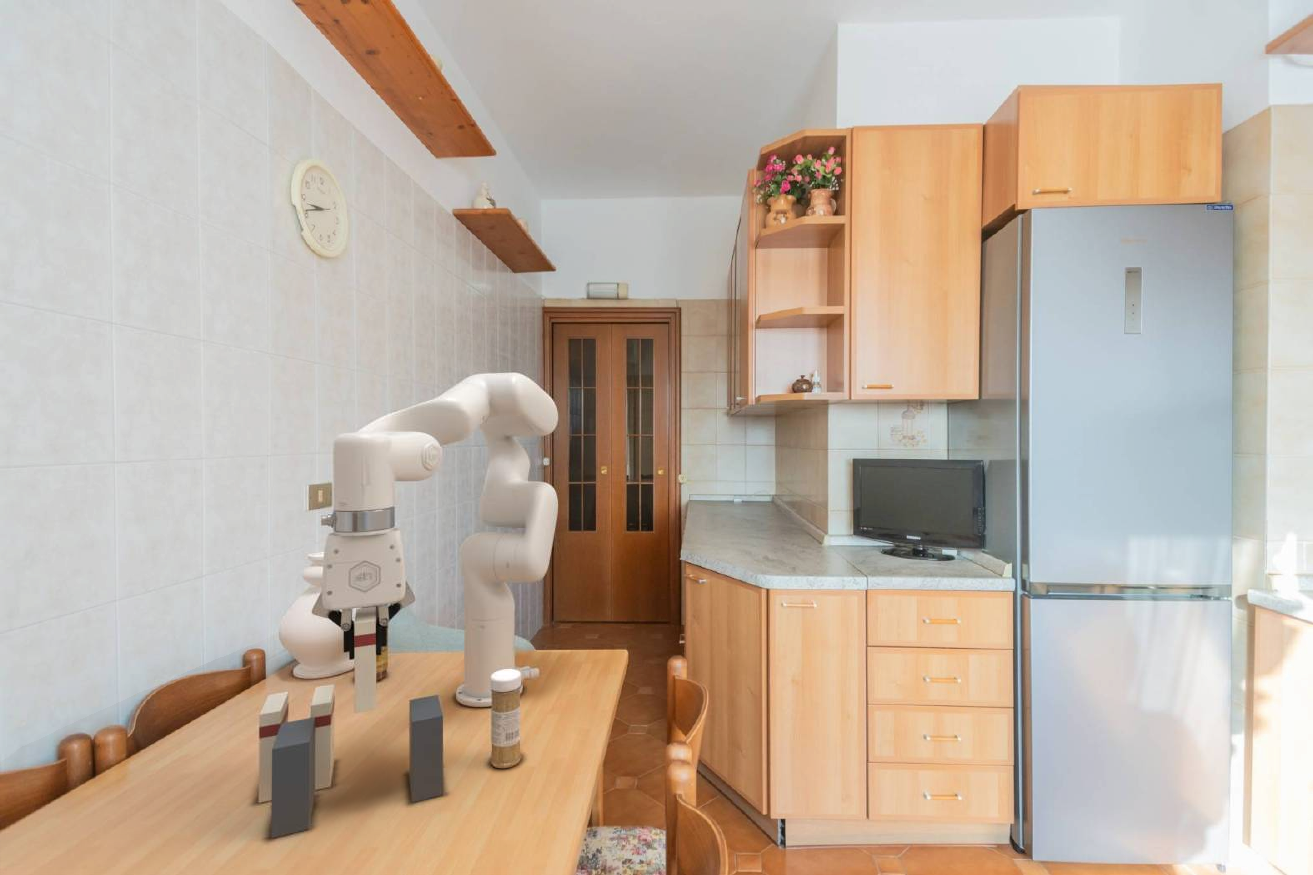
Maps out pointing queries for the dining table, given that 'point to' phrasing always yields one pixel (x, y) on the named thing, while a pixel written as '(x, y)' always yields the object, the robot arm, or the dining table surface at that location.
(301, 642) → the decorative vase
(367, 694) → the ivory book
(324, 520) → the robot arm
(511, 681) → the sprinkles bottle
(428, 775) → the grey book
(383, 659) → the sauce bottle
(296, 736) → the grey book
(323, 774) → the ivory book
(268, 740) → the ivory book
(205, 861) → the dining table surface
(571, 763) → the dining table surface
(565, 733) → the dining table surface
